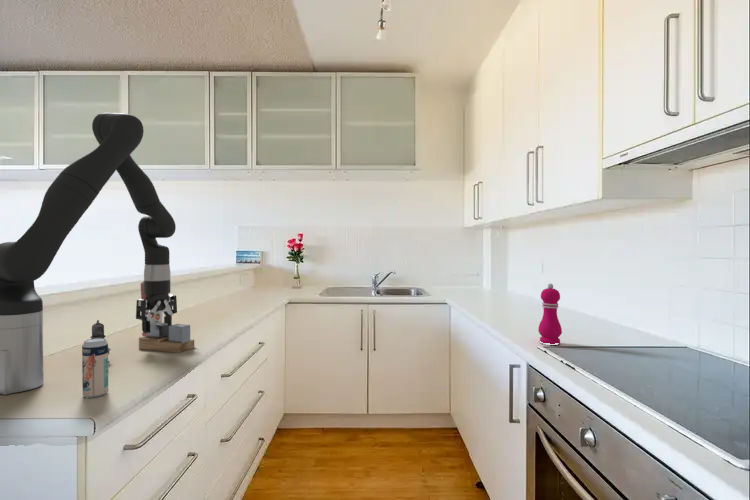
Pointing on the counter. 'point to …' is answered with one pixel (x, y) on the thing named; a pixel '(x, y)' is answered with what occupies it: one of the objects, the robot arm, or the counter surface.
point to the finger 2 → (179, 333)
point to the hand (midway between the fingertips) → (157, 330)
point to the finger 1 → (158, 330)
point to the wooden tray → (164, 344)
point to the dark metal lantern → (98, 332)
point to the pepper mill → (550, 316)
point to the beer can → (95, 367)
